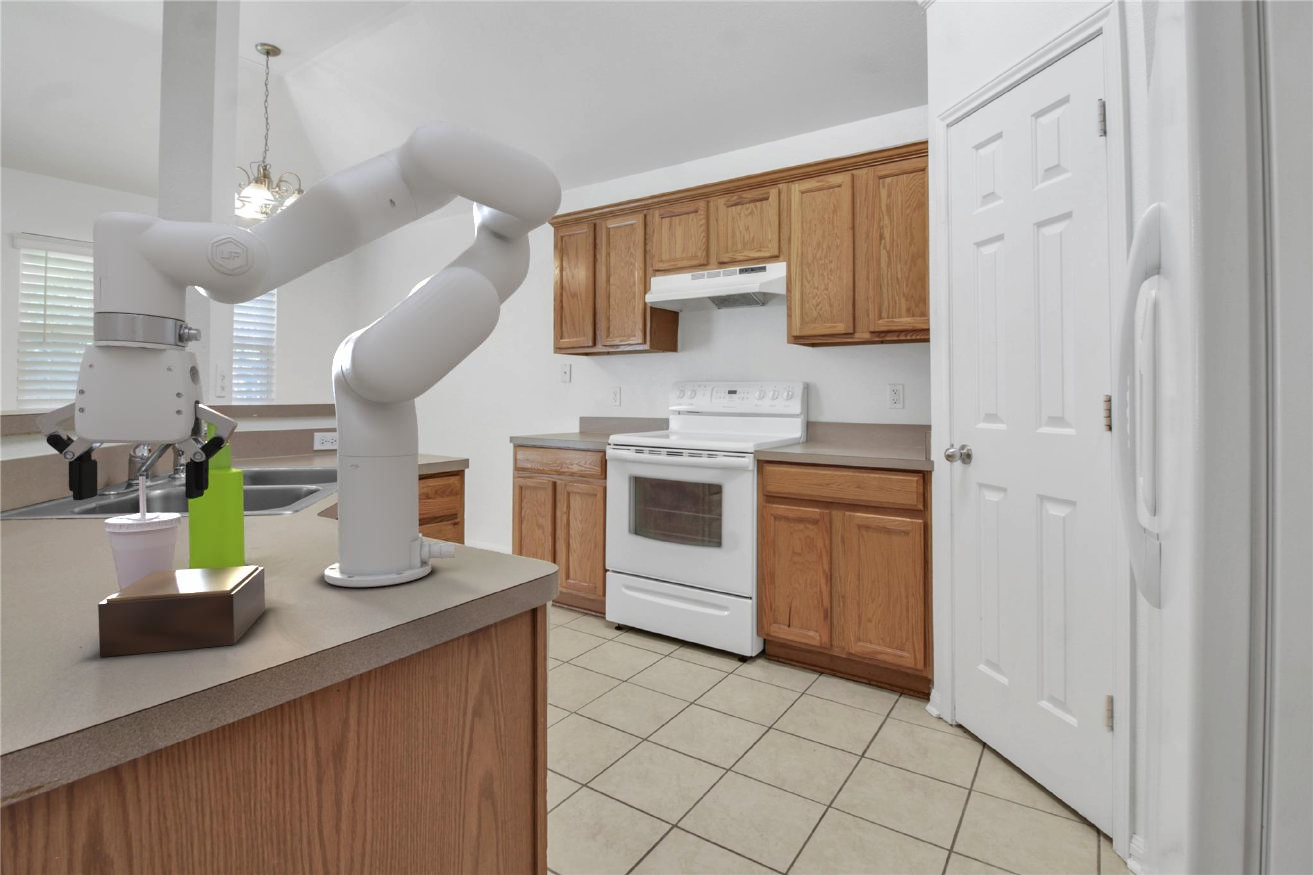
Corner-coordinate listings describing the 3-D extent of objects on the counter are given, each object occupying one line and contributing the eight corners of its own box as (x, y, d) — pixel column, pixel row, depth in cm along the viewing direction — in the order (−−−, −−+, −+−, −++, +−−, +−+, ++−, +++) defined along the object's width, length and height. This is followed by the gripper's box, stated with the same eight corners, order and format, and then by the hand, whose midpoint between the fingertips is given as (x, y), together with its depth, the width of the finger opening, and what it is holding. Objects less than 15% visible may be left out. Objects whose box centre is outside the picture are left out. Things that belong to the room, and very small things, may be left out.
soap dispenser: (209, 564, 86) (206, 417, 85) (255, 566, 85) (252, 418, 84) (170, 575, 80) (166, 418, 79) (219, 577, 79) (216, 418, 78)
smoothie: (178, 594, 72) (175, 472, 71) (188, 607, 67) (185, 477, 67) (104, 606, 67) (100, 476, 67) (109, 621, 63) (105, 482, 62)
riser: (265, 610, 67) (264, 564, 66) (234, 644, 57) (233, 590, 57) (152, 619, 64) (150, 570, 63) (99, 657, 54) (97, 600, 54)
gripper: (246, 344, 72) (246, 492, 73) (60, 334, 67) (60, 494, 68) (224, 337, 65) (224, 501, 66) (13, 326, 60) (14, 504, 61)
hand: (141, 497), depth 67 cm, fingers open, 9 cm apart
